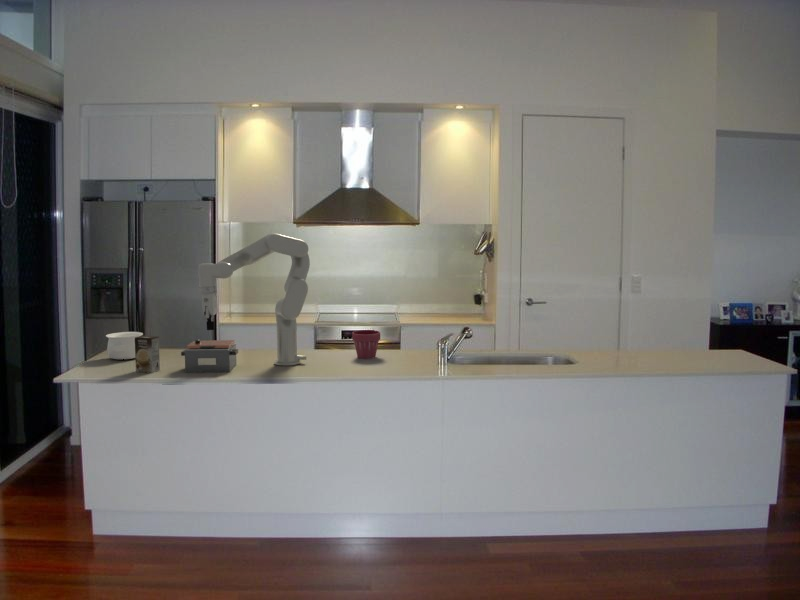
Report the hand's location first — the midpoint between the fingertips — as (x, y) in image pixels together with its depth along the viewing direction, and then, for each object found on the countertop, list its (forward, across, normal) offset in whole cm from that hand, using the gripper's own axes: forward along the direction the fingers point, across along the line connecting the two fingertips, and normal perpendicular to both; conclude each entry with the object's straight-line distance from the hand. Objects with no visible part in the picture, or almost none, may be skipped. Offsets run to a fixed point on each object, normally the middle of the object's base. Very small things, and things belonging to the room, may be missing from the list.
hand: (210, 329), depth 322 cm
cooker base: (+19, +2, +1) cm, 19 cm away
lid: (+8, +2, +1) cm, 9 cm away
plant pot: (+21, +26, -71) cm, 78 cm away
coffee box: (+18, -2, +29) cm, 34 cm away
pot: (+18, +30, +51) cm, 62 cm away
